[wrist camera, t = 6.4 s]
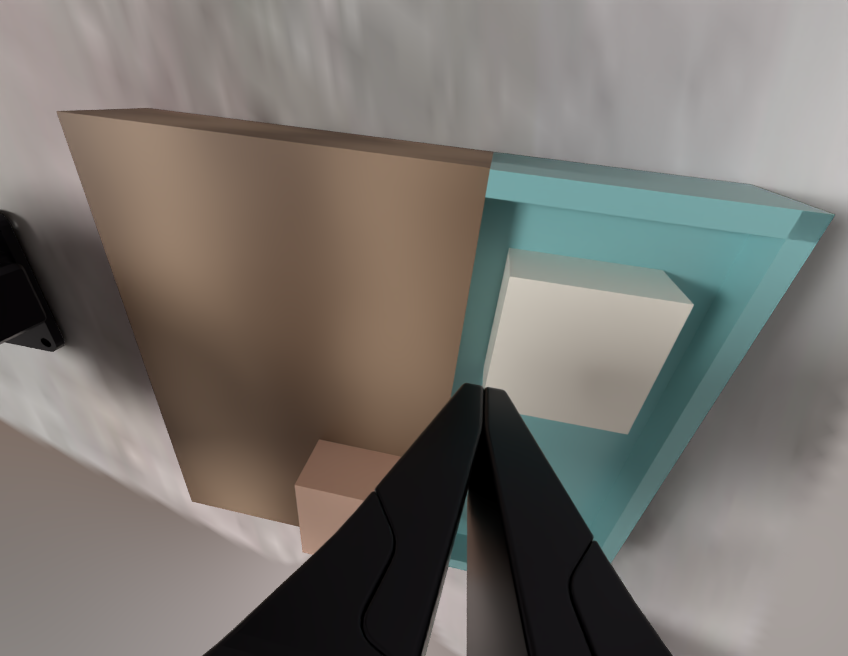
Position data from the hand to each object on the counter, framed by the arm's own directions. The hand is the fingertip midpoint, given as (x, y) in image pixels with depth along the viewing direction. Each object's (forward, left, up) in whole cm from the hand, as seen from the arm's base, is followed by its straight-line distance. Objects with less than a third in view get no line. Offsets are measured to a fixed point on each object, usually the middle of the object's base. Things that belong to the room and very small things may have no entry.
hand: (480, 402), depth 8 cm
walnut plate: (-6, -4, -6) cm, 10 cm away
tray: (+3, -4, -6) cm, 8 cm away
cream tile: (+2, 0, -4) cm, 5 cm away
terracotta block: (-3, -8, -3) cm, 9 cm away
